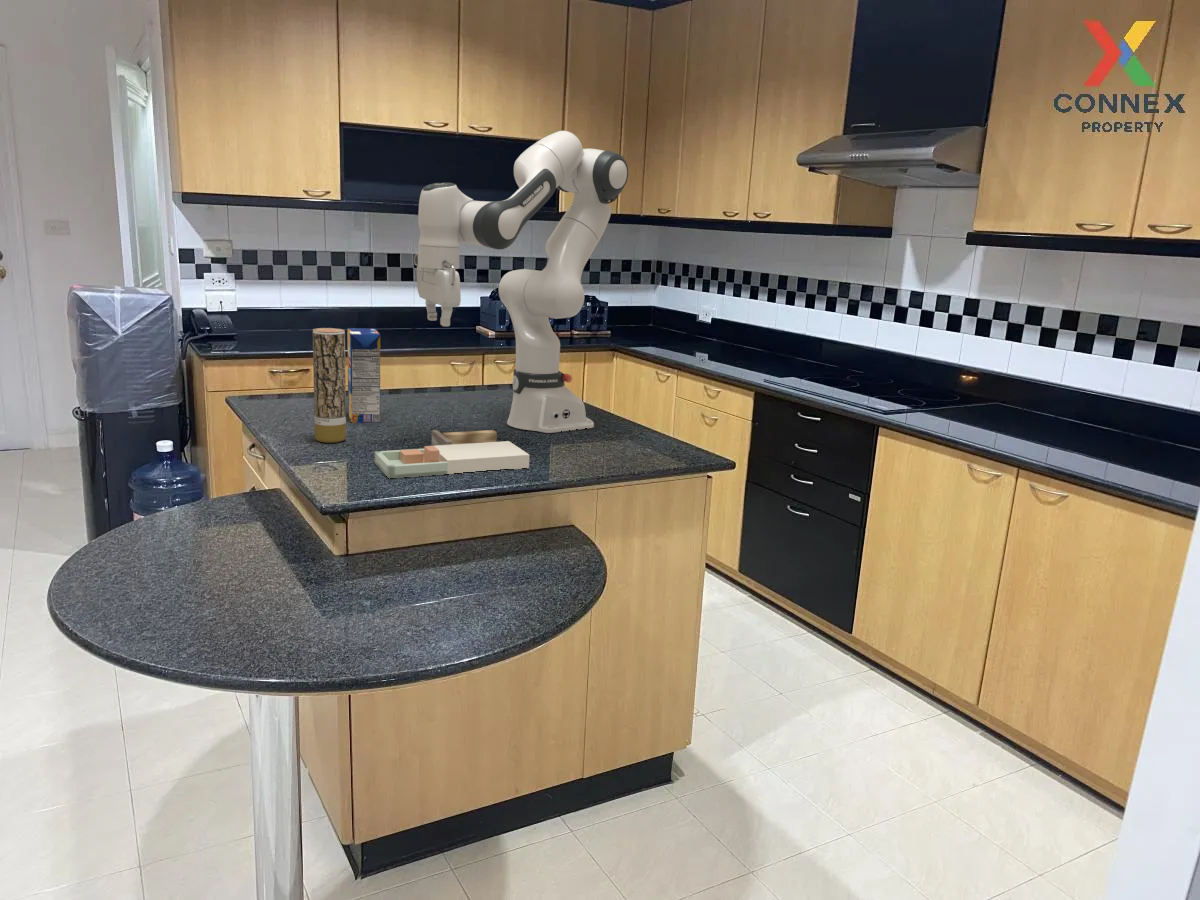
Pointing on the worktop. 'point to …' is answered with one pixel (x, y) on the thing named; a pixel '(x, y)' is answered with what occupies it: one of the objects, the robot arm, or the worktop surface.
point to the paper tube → (329, 384)
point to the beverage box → (363, 375)
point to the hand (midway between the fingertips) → (438, 323)
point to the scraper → (463, 437)
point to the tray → (406, 465)
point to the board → (482, 456)
